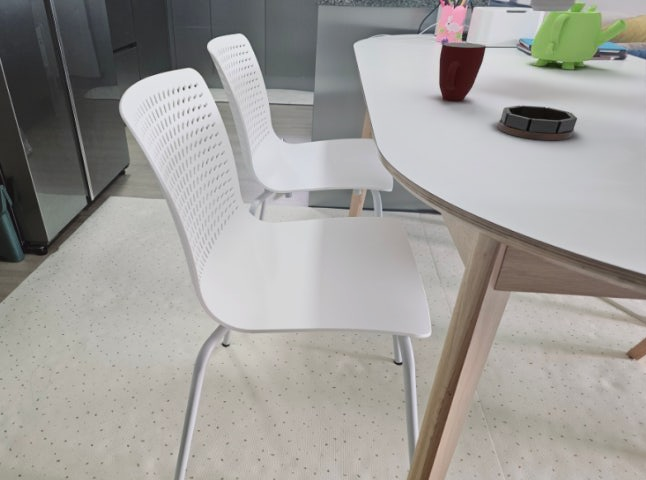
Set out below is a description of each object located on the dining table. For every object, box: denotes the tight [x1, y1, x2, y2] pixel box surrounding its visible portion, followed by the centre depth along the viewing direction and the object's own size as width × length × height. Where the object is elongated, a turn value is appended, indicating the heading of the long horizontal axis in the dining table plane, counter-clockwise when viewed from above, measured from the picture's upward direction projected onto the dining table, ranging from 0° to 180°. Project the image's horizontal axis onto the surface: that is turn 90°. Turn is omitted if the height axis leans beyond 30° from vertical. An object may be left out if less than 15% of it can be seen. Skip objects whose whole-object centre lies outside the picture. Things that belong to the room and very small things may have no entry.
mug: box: [438, 42, 487, 102], centre depth 92 cm, size 11×8×10 cm
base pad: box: [497, 104, 578, 141], centre depth 75 cm, size 11×11×3 cm
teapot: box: [530, 1, 628, 70], centre depth 130 cm, size 25×22×16 cm
